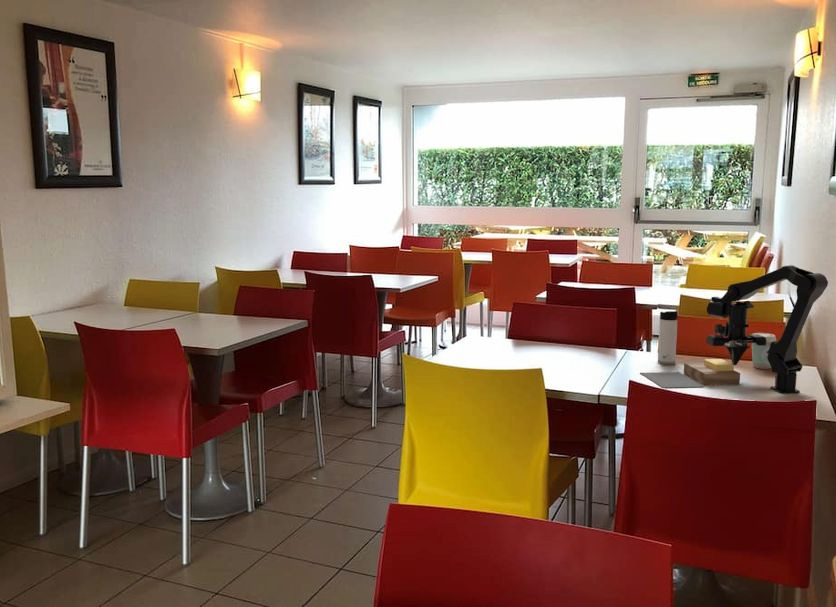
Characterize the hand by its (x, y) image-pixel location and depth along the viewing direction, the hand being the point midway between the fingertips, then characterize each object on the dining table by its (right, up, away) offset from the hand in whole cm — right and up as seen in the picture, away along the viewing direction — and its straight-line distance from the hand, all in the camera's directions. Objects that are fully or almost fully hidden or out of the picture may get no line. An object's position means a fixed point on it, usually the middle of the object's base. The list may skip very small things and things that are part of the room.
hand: (734, 364), depth 254 cm
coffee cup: (+18, -2, +18) cm, 25 cm away
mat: (-22, -5, -1) cm, 23 cm away
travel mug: (-15, -2, +24) cm, 29 cm away
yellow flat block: (-6, -1, 0) cm, 6 cm away
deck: (-8, -5, 0) cm, 10 cm away
